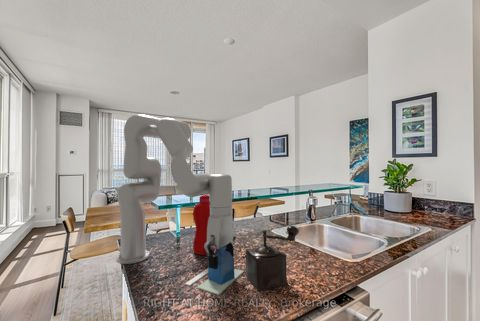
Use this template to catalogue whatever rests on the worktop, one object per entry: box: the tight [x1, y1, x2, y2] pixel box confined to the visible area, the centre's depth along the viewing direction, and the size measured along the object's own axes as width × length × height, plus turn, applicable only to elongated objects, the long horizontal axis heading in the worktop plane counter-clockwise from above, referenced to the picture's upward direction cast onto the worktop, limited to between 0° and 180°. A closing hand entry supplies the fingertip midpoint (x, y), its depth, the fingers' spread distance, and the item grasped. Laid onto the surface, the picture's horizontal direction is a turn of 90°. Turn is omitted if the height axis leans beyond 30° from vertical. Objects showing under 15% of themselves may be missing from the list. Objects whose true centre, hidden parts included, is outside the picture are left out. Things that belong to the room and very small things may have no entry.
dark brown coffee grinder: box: [245, 225, 300, 292], centre depth 76 cm, size 16×11×18 cm
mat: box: [196, 268, 245, 296], centre depth 76 cm, size 8×16×1 cm, turn 151°
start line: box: [184, 267, 208, 287], centre depth 80 cm, size 2×16×1 cm, turn 151°
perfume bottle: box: [207, 245, 235, 285], centre depth 76 cm, size 6×6×12 cm
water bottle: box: [192, 194, 216, 256], centre depth 101 cm, size 9×11×25 cm
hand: (221, 262), depth 76 cm, fingers open, 9 cm apart
